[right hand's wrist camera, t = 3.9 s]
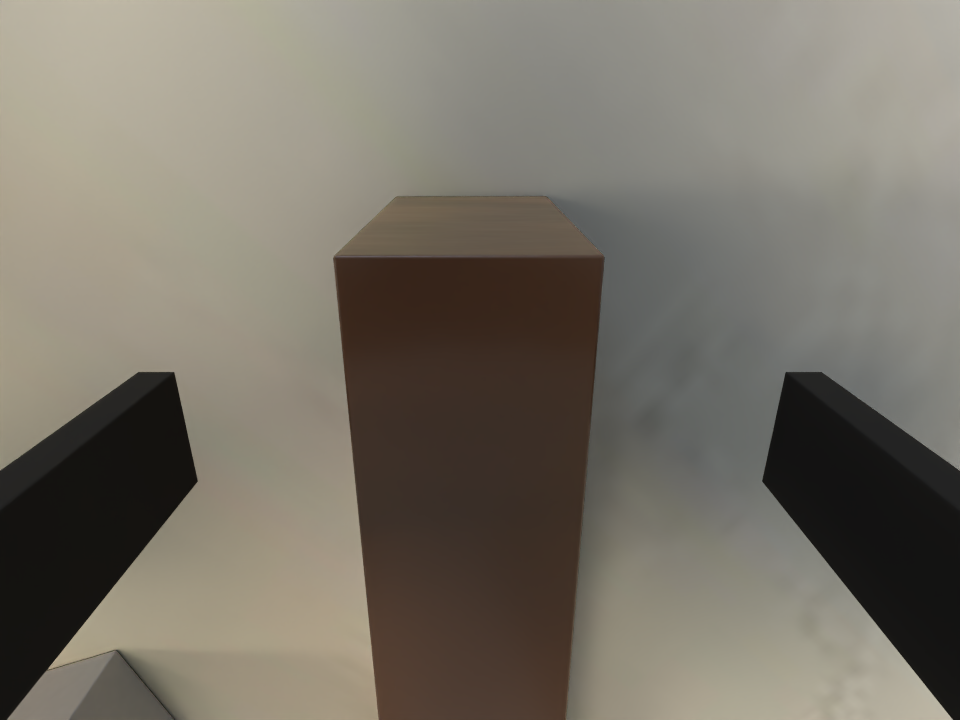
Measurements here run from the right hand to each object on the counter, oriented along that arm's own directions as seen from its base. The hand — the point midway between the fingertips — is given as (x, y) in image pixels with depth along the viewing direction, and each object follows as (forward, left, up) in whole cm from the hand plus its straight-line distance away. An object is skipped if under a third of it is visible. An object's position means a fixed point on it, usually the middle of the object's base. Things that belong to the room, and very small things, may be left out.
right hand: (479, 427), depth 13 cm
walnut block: (0, -9, -6) cm, 11 cm away
